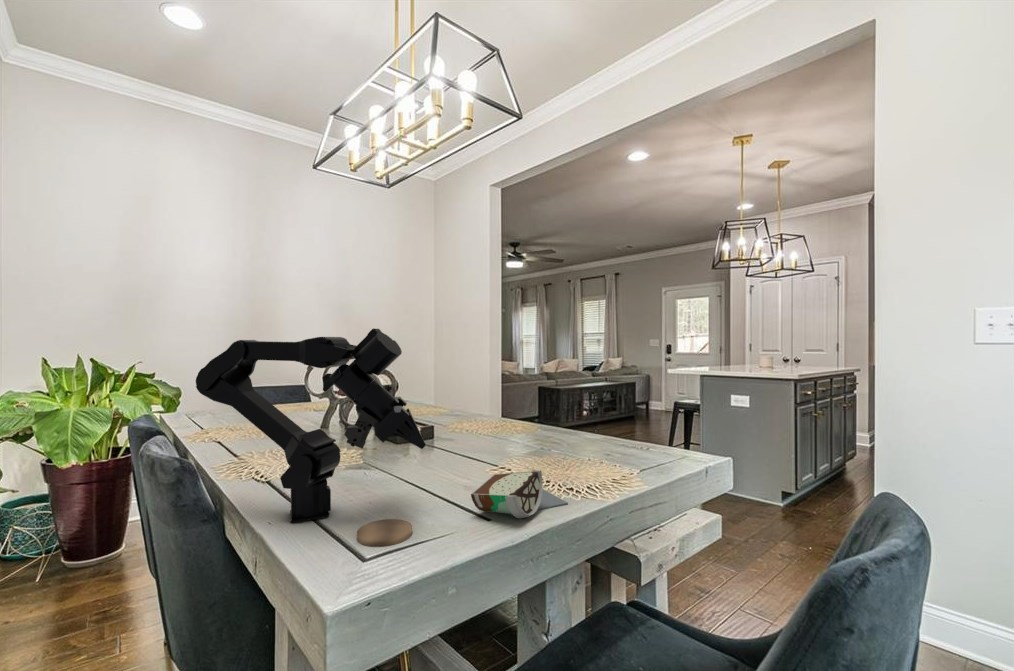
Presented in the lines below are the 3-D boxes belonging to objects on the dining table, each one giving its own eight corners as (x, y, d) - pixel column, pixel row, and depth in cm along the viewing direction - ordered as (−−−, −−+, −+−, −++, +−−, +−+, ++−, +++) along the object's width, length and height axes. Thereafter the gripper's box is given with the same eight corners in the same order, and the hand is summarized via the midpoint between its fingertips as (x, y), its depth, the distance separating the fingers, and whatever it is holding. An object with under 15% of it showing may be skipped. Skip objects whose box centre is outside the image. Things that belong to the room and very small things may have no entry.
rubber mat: (508, 515, 87) (508, 514, 87) (481, 495, 98) (481, 494, 98) (568, 504, 92) (568, 502, 92) (535, 486, 104) (535, 485, 104)
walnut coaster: (361, 550, 73) (361, 544, 73) (353, 530, 81) (353, 524, 81) (418, 539, 77) (418, 533, 77) (405, 521, 85) (405, 515, 85)
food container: (473, 530, 85) (522, 531, 81) (466, 497, 85) (515, 497, 80) (503, 500, 96) (548, 500, 92) (497, 471, 96) (542, 469, 91)
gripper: (336, 414, 95) (393, 466, 97) (323, 432, 77) (393, 494, 79) (377, 374, 97) (431, 426, 99) (373, 382, 79) (440, 445, 81)
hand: (423, 446), depth 90 cm, fingers closed
